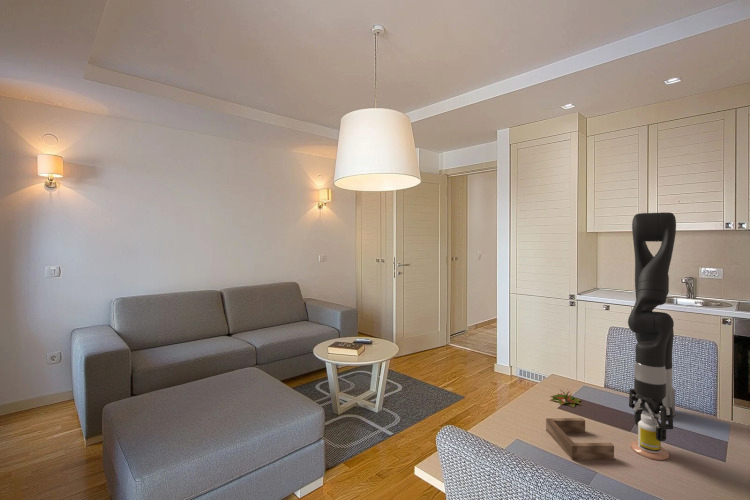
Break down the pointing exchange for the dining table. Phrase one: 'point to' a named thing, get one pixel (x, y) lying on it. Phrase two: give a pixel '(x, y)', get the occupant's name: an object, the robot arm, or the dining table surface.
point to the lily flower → (566, 397)
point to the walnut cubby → (577, 450)
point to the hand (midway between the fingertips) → (649, 432)
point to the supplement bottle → (648, 434)
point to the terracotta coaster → (656, 456)
